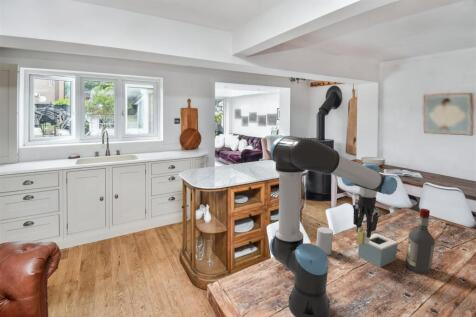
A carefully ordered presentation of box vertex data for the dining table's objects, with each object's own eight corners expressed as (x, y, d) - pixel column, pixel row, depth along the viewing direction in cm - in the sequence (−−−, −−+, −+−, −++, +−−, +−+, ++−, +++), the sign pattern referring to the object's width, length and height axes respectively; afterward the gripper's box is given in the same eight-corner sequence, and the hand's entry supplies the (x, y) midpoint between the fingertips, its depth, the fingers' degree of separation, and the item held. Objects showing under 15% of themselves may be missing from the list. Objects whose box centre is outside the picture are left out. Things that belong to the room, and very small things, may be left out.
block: (361, 244, 127) (363, 233, 126) (356, 242, 129) (357, 230, 128) (369, 242, 130) (370, 230, 129) (363, 239, 132) (365, 228, 132)
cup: (332, 255, 139) (334, 234, 138) (316, 253, 141) (318, 232, 139) (330, 248, 147) (331, 227, 145) (315, 246, 149) (316, 226, 147)
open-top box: (379, 267, 129) (381, 248, 127) (358, 256, 139) (359, 238, 137) (395, 260, 136) (397, 242, 134) (373, 250, 146) (375, 233, 144)
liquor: (424, 265, 132) (432, 207, 127) (432, 275, 123) (440, 214, 118) (403, 262, 134) (410, 205, 130) (410, 271, 125) (417, 212, 121)
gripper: (388, 199, 121) (382, 246, 124) (357, 190, 135) (353, 233, 138) (379, 201, 117) (373, 250, 121) (348, 192, 131) (343, 236, 134)
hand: (362, 241), depth 129 cm, fingers closed on block, 3 cm apart
